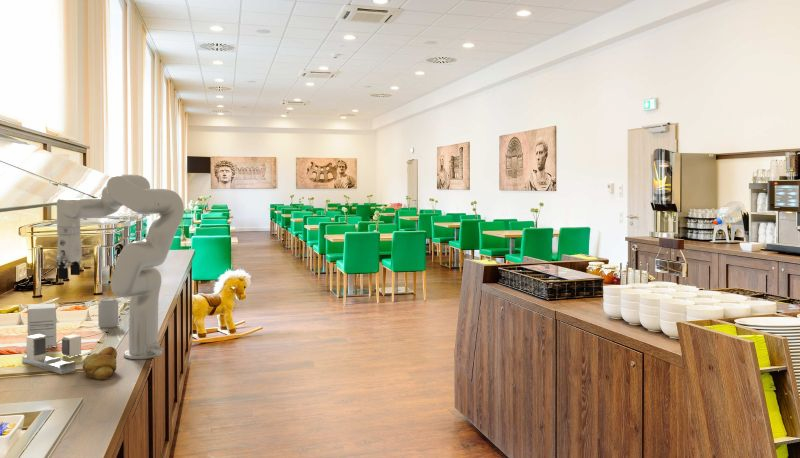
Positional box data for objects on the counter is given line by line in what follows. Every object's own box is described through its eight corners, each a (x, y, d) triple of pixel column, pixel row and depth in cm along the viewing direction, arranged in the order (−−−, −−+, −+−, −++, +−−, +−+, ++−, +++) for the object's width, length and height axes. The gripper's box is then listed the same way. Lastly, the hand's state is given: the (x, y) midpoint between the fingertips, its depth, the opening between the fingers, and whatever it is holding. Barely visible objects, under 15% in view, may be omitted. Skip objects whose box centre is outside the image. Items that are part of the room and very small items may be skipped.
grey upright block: (94, 327, 242) (94, 299, 242) (109, 324, 249) (109, 296, 248) (107, 330, 240) (107, 301, 239) (122, 326, 247) (122, 298, 246)
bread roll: (116, 380, 181) (116, 355, 180) (81, 383, 177) (81, 358, 176) (116, 368, 193) (117, 344, 192) (83, 371, 188) (83, 346, 188)
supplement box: (28, 344, 216) (27, 304, 215) (56, 341, 220) (56, 302, 219) (27, 350, 208) (26, 309, 207) (56, 347, 212) (56, 307, 211)
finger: (74, 353, 206) (74, 334, 206) (81, 355, 204) (81, 336, 204) (61, 356, 202) (61, 336, 202) (68, 358, 200) (68, 338, 200)
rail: (75, 370, 188) (75, 343, 187) (61, 374, 184) (61, 346, 184) (36, 358, 199) (36, 332, 198) (22, 362, 195) (22, 335, 194)
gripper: (68, 233, 209) (69, 280, 210) (89, 229, 226) (89, 273, 227) (46, 232, 208) (47, 280, 209) (69, 229, 225) (69, 273, 226)
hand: (69, 276), depth 218 cm, fingers open, 9 cm apart
